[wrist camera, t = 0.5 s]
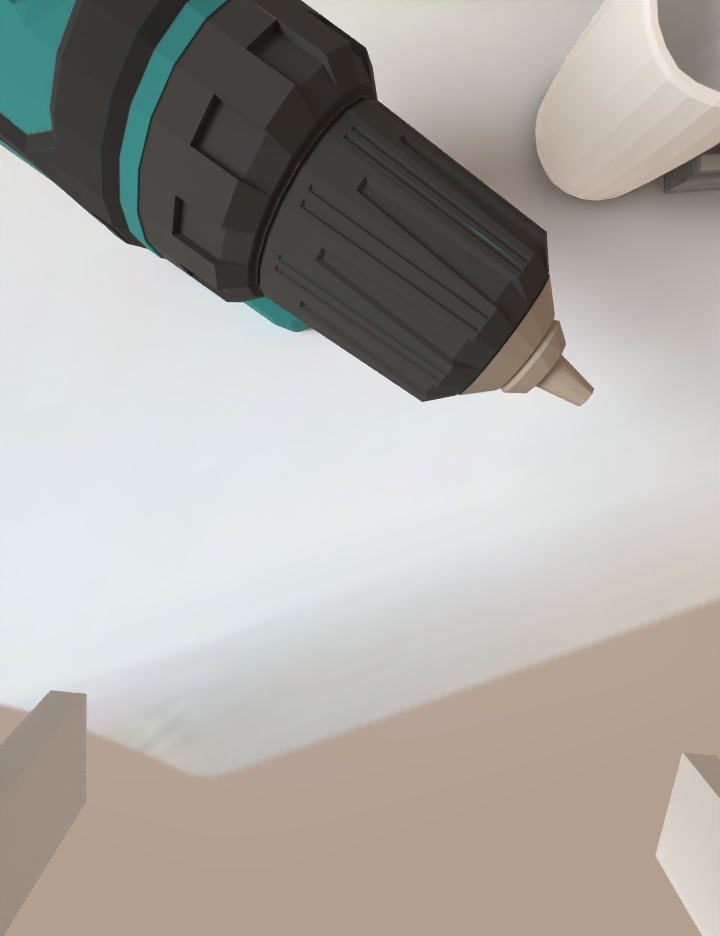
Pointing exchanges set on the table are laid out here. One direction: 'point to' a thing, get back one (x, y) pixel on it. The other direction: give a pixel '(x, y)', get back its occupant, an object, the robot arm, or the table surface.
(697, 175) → the panel
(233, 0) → the power drill
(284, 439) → the table surface
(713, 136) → the cup
